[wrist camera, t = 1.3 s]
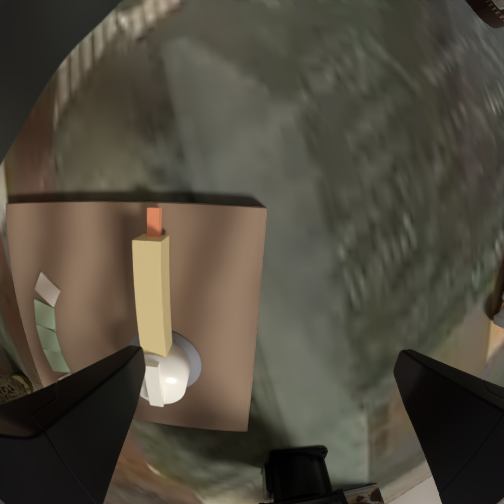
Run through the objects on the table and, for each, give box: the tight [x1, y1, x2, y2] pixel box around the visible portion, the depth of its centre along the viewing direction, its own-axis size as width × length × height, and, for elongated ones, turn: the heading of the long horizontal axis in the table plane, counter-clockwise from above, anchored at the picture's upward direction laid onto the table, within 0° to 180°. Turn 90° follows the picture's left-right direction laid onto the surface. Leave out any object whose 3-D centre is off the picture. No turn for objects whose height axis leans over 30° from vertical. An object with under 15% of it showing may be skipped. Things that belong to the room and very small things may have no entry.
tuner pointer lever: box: [132, 207, 191, 407], centre depth 18 cm, size 14×4×3 cm, turn 176°
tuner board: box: [6, 201, 267, 432], centre depth 20 cm, size 22×20×1 cm
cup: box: [0, 372, 33, 404], centre depth 19 cm, size 8×7×8 cm
